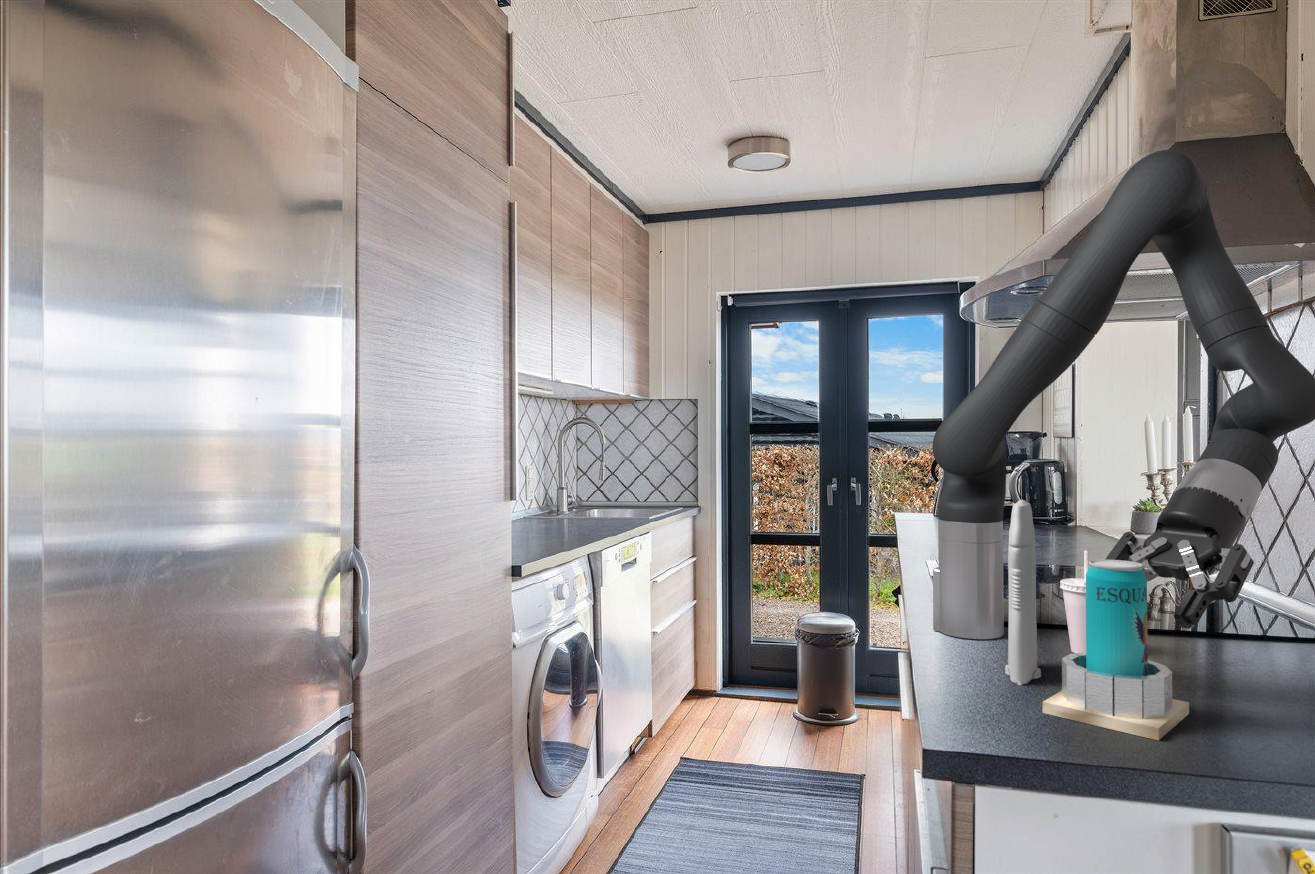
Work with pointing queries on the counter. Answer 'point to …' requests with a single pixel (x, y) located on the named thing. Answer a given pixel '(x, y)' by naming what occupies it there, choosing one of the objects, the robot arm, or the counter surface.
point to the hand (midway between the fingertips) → (1142, 615)
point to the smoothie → (1076, 608)
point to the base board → (1118, 718)
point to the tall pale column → (1022, 597)
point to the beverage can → (1116, 618)
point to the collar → (1117, 690)
